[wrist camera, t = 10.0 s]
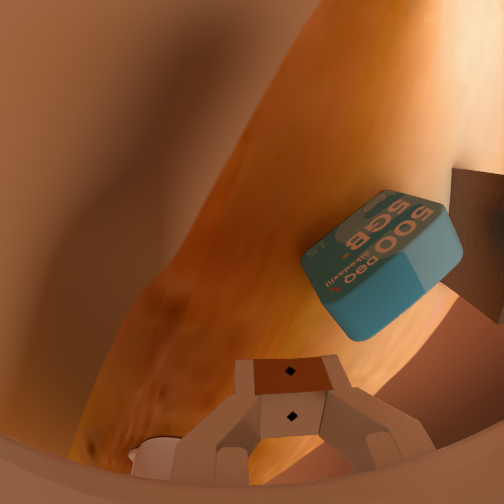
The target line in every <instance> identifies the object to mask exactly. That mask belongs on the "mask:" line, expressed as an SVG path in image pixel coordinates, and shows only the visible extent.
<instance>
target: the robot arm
mask: <svg viewBox="0 0 504 504" xmlns="http://www.w3.org/2000/svg"><path fill="white" fill-rule="evenodd" d="M316 434H319V436H320V437H321V438H322V439H323V440H324V441H325V442H326V443H327V444H328V445H329V446H331V447H332V448H333V449H334V450H335V451H336V452H337V453H338V454H339V455H340V456H342V457H343V458H344V459H345V460H346V461H347V462H348V463H349V464H351V465H352V466H353V469H352V470H351V473H350V475H346V476H340V477H335V478H328V479H322V480H314V481H307V482H297V483H286V484H272V485H249V479H248V457H249V456H250V455H251V453H252V452H253V450H254V449H255V447H256V446H257V444H258V443H259V442H260V439H263V438H277V437H288V436H303V435H316ZM128 457H129V458H130V459H131V461H132V462H133V466H132V471H131V475H128V474H123V473H118V472H113V471H109V470H105V469H101V468H97V467H93V466H89V465H86V464H82V463H79V462H76V461H72V460H69V459H66V458H63V457H60V456H57V455H54V454H51V453H49V452H46V451H43V450H41V449H38V448H35V447H33V446H30V445H28V444H25V443H23V442H21V441H18V440H16V439H14V438H12V437H10V436H8V435H5V434H3V433H1V432H0V504H504V420H502V421H501V422H499V423H497V424H495V425H493V426H491V427H489V428H487V429H485V430H483V431H481V432H479V433H477V434H475V435H472V436H470V437H468V438H466V439H463V440H461V441H459V442H456V443H454V444H452V445H449V446H447V447H444V448H441V449H439V450H436V449H435V447H434V445H433V444H432V442H431V440H430V438H429V437H428V435H427V433H426V431H425V430H424V428H423V426H422V425H421V423H420V421H418V420H416V419H414V418H412V417H410V416H409V415H407V414H405V413H403V412H401V411H399V410H397V409H395V408H393V407H392V406H390V405H388V404H386V403H384V402H383V401H381V400H379V399H377V398H375V397H374V396H372V395H370V394H368V393H366V392H365V391H363V390H361V389H359V388H358V387H353V388H352V386H351V384H350V382H349V380H348V377H347V375H346V373H345V371H344V369H343V367H342V365H341V363H340V360H339V358H338V356H337V355H327V356H319V357H311V358H297V359H253V360H252V359H236V361H235V381H234V396H228V397H227V398H226V399H225V400H224V401H223V402H222V403H221V404H220V405H219V406H218V407H216V408H215V409H214V410H213V411H212V412H211V413H210V414H209V415H208V416H207V417H206V418H205V419H203V420H202V421H201V422H200V423H199V424H198V425H197V426H196V427H195V428H193V429H192V430H191V431H190V432H189V433H188V434H187V435H186V436H184V437H183V438H182V439H178V438H169V437H159V438H152V439H149V440H146V441H145V442H143V443H142V444H141V445H140V447H139V448H137V449H133V450H130V451H129V454H128Z"/></svg>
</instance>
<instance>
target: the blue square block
mask: <svg viewBox="0 0 504 504" xmlns="http://www.w3.org/2000/svg"><path fill="white" fill-rule="evenodd" d="M462 256H463V248H462V245H461V243H460V240H459V238H458V236H457V233H456V231H455V228H454V226H453V224H452V222H451V219H450V217H449V215H448V213H447V211H446V208H445V207H444V206H443V205H442V204H440V203H437V202H434V201H430V200H426V199H423V198H419V197H415V196H411V195H407V194H403V193H399V192H395V191H391V190H387V191H384V192H381V193H379V194H378V195H376V196H375V197H373V198H372V199H371V200H370V201H369V202H367V203H366V204H365V205H364V206H362V207H361V208H360V209H359V210H357V211H356V212H355V213H354V214H352V215H351V216H350V217H349V218H348V219H346V220H345V221H344V222H343V223H341V224H340V225H339V226H337V227H336V228H335V229H334V230H332V231H331V232H330V233H329V234H327V235H326V236H325V237H324V238H322V239H321V240H320V241H319V242H317V243H316V244H315V245H313V246H312V247H311V248H310V249H308V250H307V251H306V252H305V254H304V255H303V256H302V258H301V265H302V267H303V269H304V271H305V272H306V274H307V276H308V278H309V280H310V282H311V284H312V286H313V288H314V289H315V291H316V293H317V295H318V297H319V299H320V301H321V303H322V304H323V306H324V307H325V308H326V309H327V311H328V312H329V313H330V314H331V316H332V317H333V318H334V319H335V321H336V322H337V323H338V324H339V326H340V327H341V328H342V330H343V331H344V332H345V333H346V335H347V336H348V337H349V338H350V339H351V340H353V341H357V342H360V341H365V340H368V339H370V338H371V337H373V336H374V335H376V334H377V333H378V332H380V331H381V330H382V329H383V328H385V327H386V326H387V325H389V324H390V323H391V322H392V321H394V320H395V319H396V318H397V317H399V316H400V315H401V314H402V313H403V312H405V311H406V310H407V309H408V308H410V307H411V306H412V305H413V304H414V303H415V302H417V301H418V300H419V299H420V298H421V297H422V296H424V295H425V294H426V293H427V292H428V291H429V290H430V289H431V288H433V287H434V286H435V285H436V284H437V283H438V282H439V281H440V280H441V279H442V278H443V277H445V276H446V275H447V274H448V273H449V272H450V271H451V270H452V269H453V268H454V267H455V266H456V265H457V264H458V263H459V262H460V260H461V258H462Z"/></svg>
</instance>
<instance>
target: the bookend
mask: <svg viewBox="0 0 504 504" xmlns="http://www.w3.org/2000/svg"><path fill="white" fill-rule="evenodd" d="M449 217H450V219H451V222H452V224H453V226H454V228H455V231H456V233H457V236H458V238H459V240H460V243H461V245H462V248H463V256H462V258H461V260H460V262H459V263H458V264H457V265H456V266H455V267H454V268H453V269H452V270H451V271H450V272H449V273H448V274H447V275H446V276H445V277H443V278H442V279H441V280H440V282H442V283H443V284H445V285H446V286H447V287H449V288H450V289H452V290H453V291H454V292H456V293H457V294H458V295H460V296H461V297H462V298H464V299H465V300H466V301H468V302H469V303H470V304H472V305H473V306H474V307H476V308H477V309H478V310H480V311H481V312H482V313H483V314H485V315H486V316H487V317H488V318H490V319H491V320H492V321H494V322H495V323H496V324H502V323H504V175H501V174H494V173H487V172H480V171H473V170H464V169H456V168H452V183H451V198H450V209H449Z"/></svg>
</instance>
